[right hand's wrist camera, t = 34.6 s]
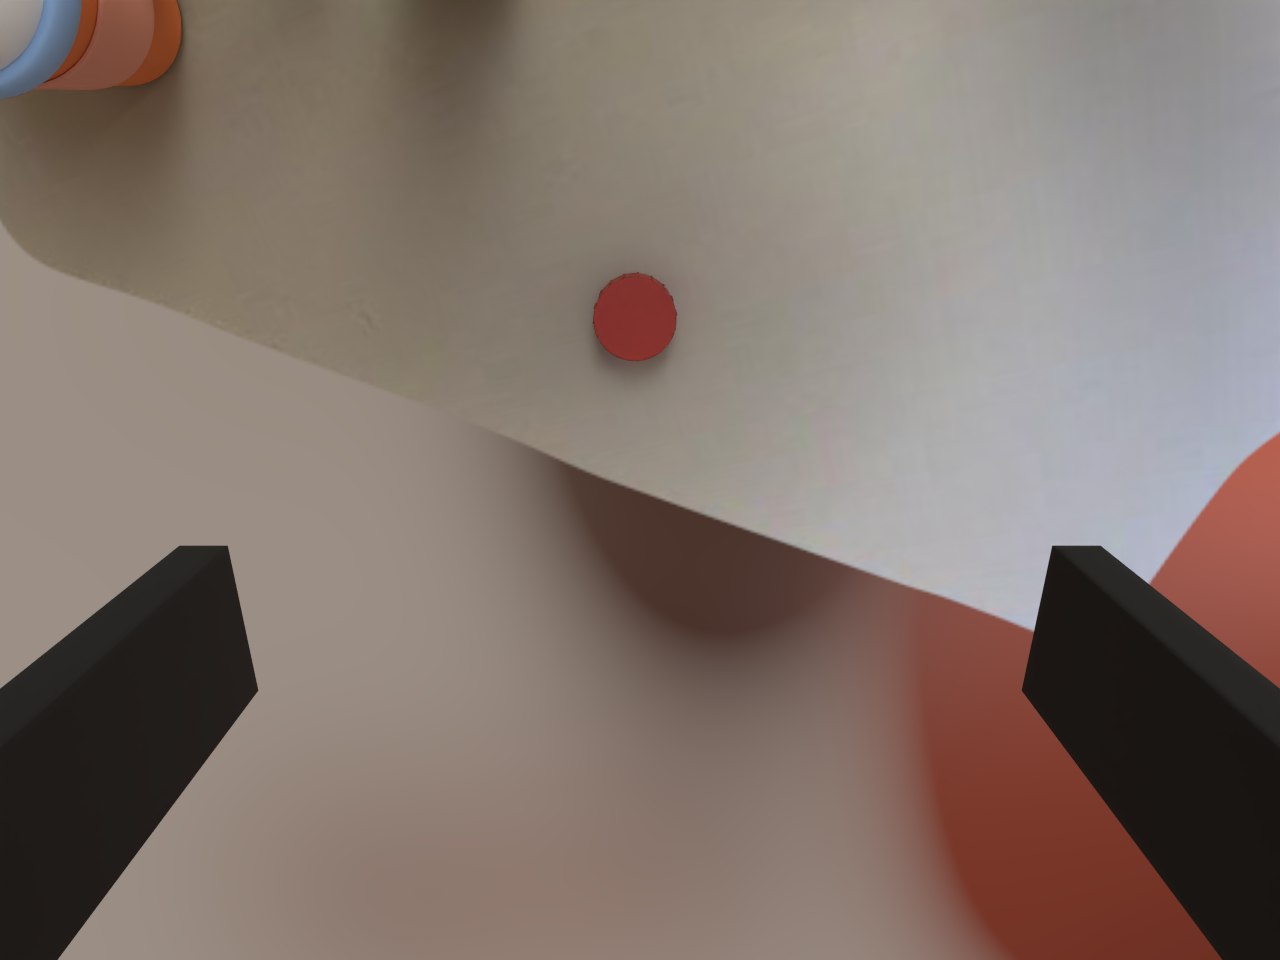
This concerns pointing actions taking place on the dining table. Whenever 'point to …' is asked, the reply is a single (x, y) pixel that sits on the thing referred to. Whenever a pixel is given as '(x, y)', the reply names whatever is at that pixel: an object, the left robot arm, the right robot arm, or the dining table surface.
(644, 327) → the cap
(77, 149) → the dining table surface
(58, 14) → the cup with straw
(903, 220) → the dining table surface
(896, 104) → the dining table surface
